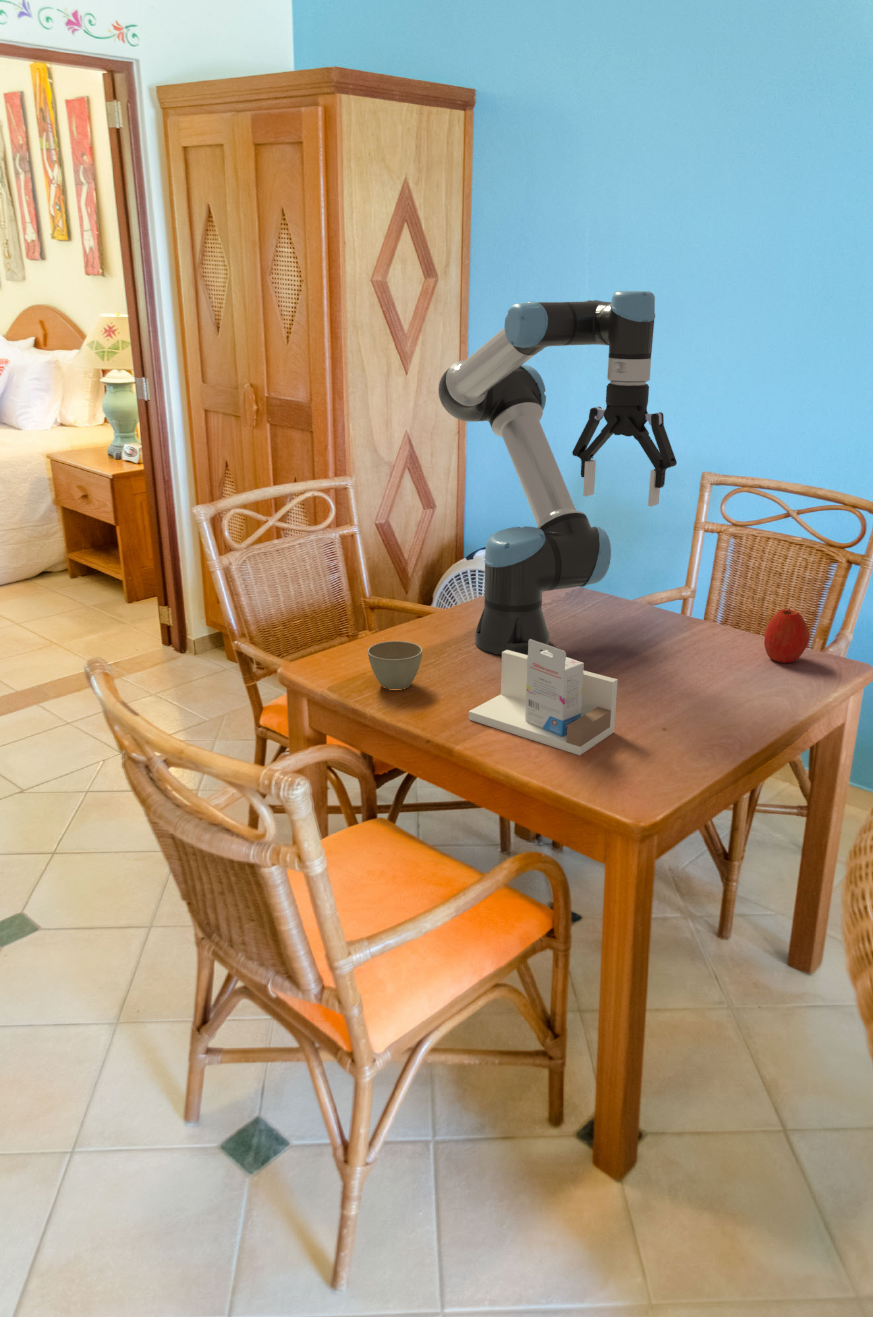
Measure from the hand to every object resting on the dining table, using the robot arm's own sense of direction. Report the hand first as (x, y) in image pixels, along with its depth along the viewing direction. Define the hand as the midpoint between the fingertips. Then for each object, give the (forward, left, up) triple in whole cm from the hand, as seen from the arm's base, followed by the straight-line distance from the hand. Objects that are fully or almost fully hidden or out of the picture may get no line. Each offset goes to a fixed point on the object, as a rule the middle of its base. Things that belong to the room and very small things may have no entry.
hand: (620, 500), depth 189 cm
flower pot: (-24, -37, -32) cm, 54 cm away
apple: (+27, +21, -32) cm, 47 cm away
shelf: (+6, -35, -32) cm, 48 cm away
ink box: (+10, -36, -30) cm, 48 cm away
